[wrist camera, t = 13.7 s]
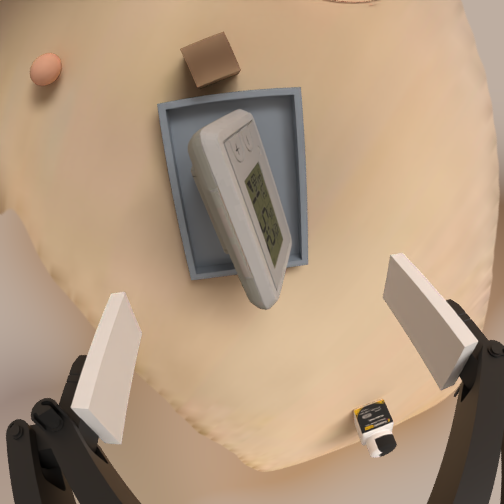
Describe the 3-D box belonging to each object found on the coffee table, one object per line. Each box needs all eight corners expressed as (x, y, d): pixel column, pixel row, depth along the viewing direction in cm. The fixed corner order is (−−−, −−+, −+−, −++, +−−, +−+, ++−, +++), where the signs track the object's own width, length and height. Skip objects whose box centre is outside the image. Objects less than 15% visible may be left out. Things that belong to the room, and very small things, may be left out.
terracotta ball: (39, 61, 22) (22, 60, 18) (65, 49, 22) (50, 46, 19) (42, 89, 23) (25, 91, 20) (68, 79, 24) (52, 78, 20)
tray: (192, 270, 36) (191, 280, 34) (161, 103, 27) (157, 104, 25) (303, 255, 37) (307, 264, 35) (295, 87, 27) (300, 87, 25)
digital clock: (290, 248, 35) (314, 306, 26) (212, 260, 35) (211, 322, 26) (278, 104, 27) (307, 108, 18) (186, 116, 27) (168, 126, 18)
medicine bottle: (383, 397, 57) (402, 441, 46) (381, 411, 60) (398, 451, 50) (352, 409, 57) (369, 454, 47) (353, 422, 60) (368, 463, 50)
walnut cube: (185, 54, 25) (180, 49, 21) (223, 39, 24) (223, 31, 21) (200, 88, 26) (197, 87, 23) (238, 73, 26) (240, 70, 23)
